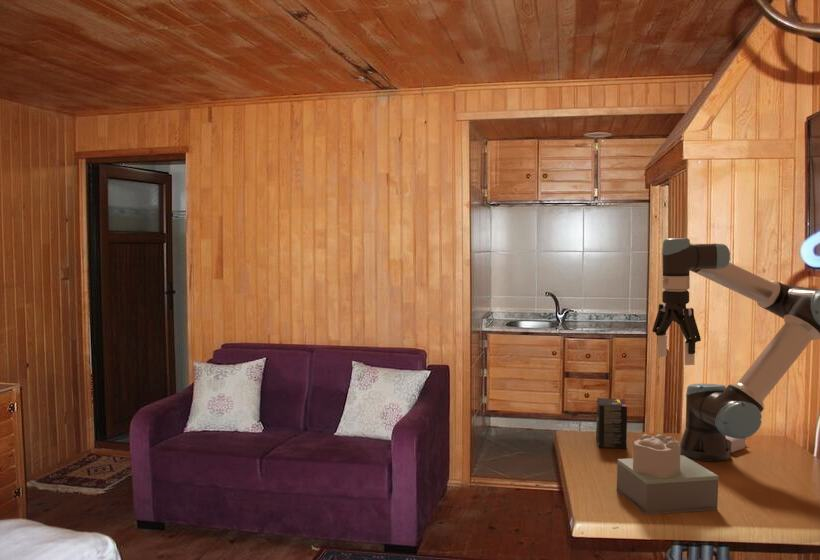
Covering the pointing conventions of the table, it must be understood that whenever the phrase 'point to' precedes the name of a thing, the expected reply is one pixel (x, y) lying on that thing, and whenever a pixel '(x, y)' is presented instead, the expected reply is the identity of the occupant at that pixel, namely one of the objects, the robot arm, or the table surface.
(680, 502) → the storage box
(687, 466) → the lid
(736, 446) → the charger
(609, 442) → the tampon box
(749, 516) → the table surface
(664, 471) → the lumpy-topped squat cylinder
